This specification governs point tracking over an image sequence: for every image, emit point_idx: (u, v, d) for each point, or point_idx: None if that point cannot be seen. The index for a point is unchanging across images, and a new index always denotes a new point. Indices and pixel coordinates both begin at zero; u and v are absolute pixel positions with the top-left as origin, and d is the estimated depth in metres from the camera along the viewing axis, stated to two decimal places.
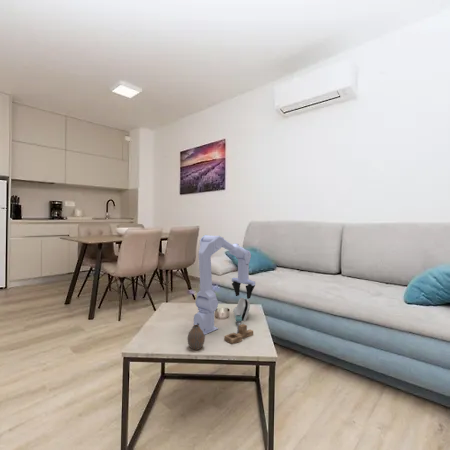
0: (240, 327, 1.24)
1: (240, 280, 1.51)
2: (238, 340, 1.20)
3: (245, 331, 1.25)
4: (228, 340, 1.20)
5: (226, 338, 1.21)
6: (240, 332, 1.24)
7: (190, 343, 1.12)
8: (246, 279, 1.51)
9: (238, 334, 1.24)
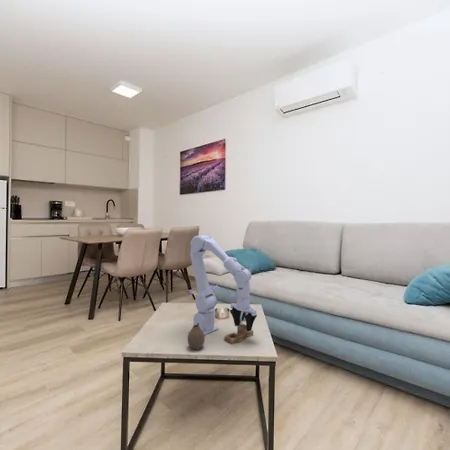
0: (240, 327, 1.24)
1: (238, 308, 1.23)
2: (238, 340, 1.20)
3: (245, 331, 1.25)
4: (228, 340, 1.20)
5: (226, 338, 1.21)
6: (240, 332, 1.24)
7: (190, 343, 1.12)
8: (246, 307, 1.22)
9: (238, 334, 1.24)
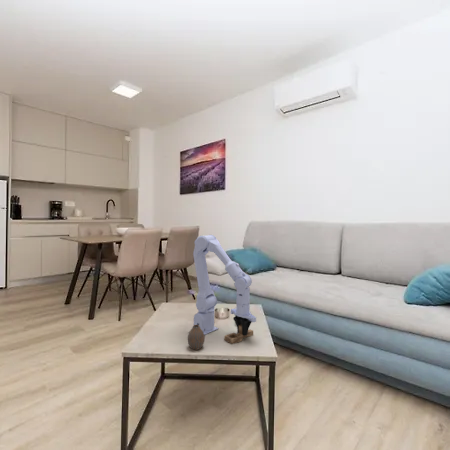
0: (240, 327, 1.24)
1: (238, 314, 1.23)
2: (238, 340, 1.20)
3: None
4: (228, 340, 1.20)
5: (226, 338, 1.21)
6: (240, 332, 1.24)
7: (190, 343, 1.12)
8: (246, 313, 1.23)
9: (238, 334, 1.24)
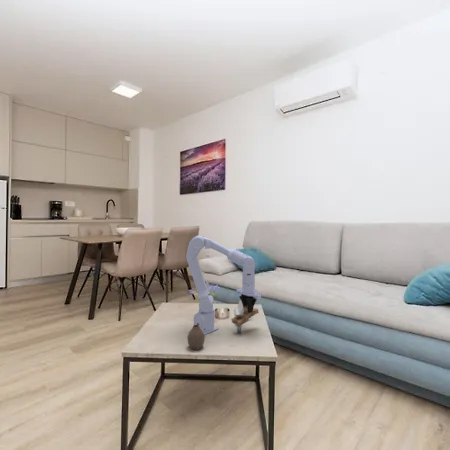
0: (245, 308, 1.32)
1: (244, 292, 1.31)
2: (245, 321, 1.28)
3: None
4: (235, 322, 1.28)
5: (233, 320, 1.29)
6: (246, 313, 1.32)
7: (190, 343, 1.12)
8: (251, 291, 1.30)
9: (244, 315, 1.32)
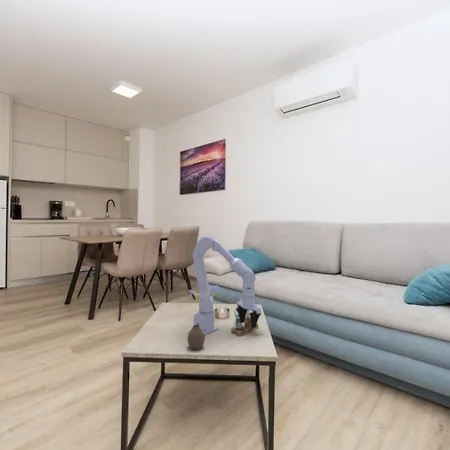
0: (246, 320, 1.32)
1: (244, 306, 1.31)
2: (244, 332, 1.28)
3: (250, 324, 1.33)
4: (235, 332, 1.28)
5: (233, 330, 1.29)
6: (246, 325, 1.32)
7: (190, 343, 1.12)
8: (251, 305, 1.31)
9: (244, 327, 1.32)
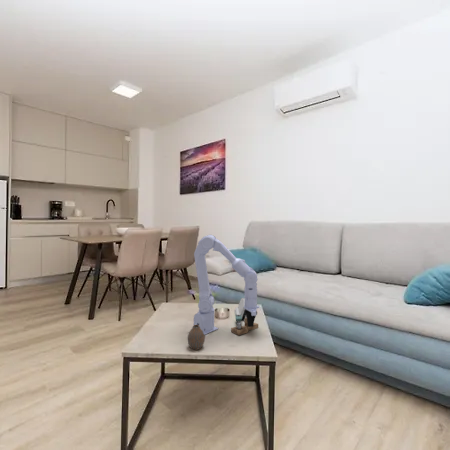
0: (246, 320, 1.33)
1: (244, 306, 1.31)
2: (244, 331, 1.29)
3: None
4: (235, 332, 1.29)
5: (233, 330, 1.30)
6: (246, 325, 1.33)
7: (190, 343, 1.12)
8: (250, 306, 1.28)
9: (244, 326, 1.32)
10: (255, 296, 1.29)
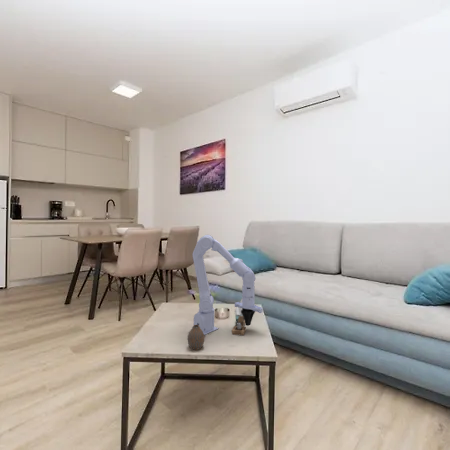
0: (240, 319, 1.34)
1: (245, 306, 1.31)
2: None
3: (243, 322, 1.36)
4: (238, 333, 1.28)
5: (235, 331, 1.28)
6: None
7: (190, 343, 1.12)
8: (252, 305, 1.31)
9: None
10: (253, 295, 1.31)
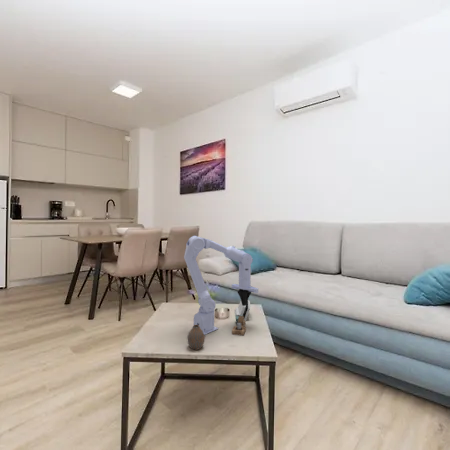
0: (240, 319, 1.34)
1: (241, 287, 1.36)
2: None
3: (243, 322, 1.36)
4: (238, 333, 1.28)
5: (235, 331, 1.28)
6: None
7: (190, 343, 1.12)
8: (248, 285, 1.37)
9: None
10: (250, 276, 1.38)
